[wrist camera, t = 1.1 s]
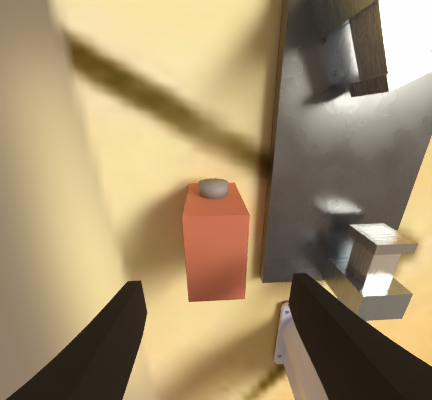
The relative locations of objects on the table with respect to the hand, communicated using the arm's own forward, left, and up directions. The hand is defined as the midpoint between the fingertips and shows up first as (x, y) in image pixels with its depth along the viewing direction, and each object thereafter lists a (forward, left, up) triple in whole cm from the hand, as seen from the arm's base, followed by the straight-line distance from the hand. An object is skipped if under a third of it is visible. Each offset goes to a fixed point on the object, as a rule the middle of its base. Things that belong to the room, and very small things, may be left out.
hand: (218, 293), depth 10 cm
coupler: (0, 0, -8) cm, 8 cm away
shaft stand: (+6, -10, -8) cm, 14 cm away
